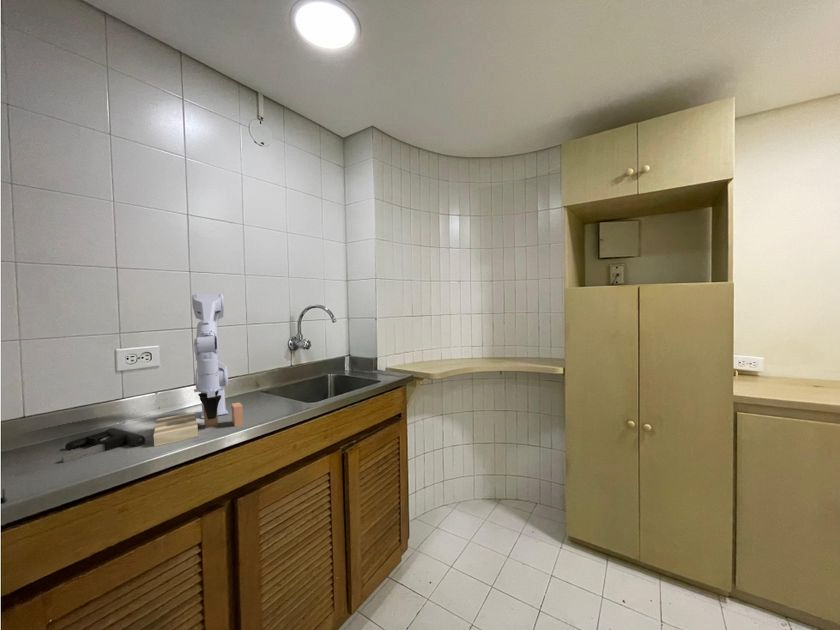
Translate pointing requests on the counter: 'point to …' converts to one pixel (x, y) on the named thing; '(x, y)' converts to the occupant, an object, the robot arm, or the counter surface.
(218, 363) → the robot arm
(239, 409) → the salmon brown flat block
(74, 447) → the door handle
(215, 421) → the walnut peg
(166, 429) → the socket block
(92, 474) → the counter surface
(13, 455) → the counter surface
